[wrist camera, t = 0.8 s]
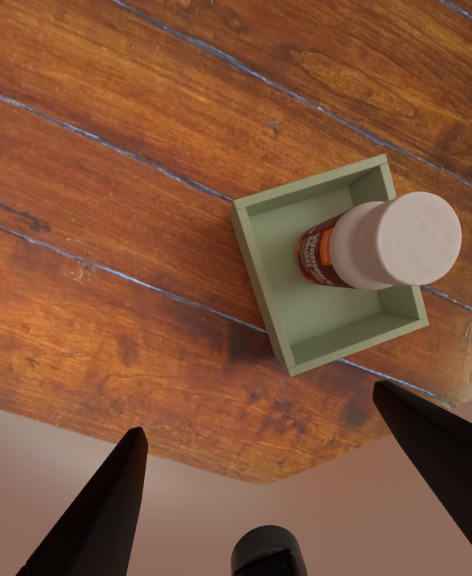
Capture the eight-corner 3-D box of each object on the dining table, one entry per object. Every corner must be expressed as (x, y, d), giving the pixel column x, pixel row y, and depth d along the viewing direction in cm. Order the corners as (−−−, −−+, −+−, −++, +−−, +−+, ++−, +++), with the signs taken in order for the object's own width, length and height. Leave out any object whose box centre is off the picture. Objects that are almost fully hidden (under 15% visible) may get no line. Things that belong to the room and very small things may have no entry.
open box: (388, 315, 25) (429, 325, 20) (275, 356, 24) (290, 377, 19) (350, 177, 23) (385, 152, 19) (229, 215, 22) (233, 200, 18)
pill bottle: (281, 243, 23) (346, 213, 11) (332, 215, 23) (445, 159, 12) (308, 295, 23) (394, 315, 12) (357, 268, 24) (486, 262, 12)
